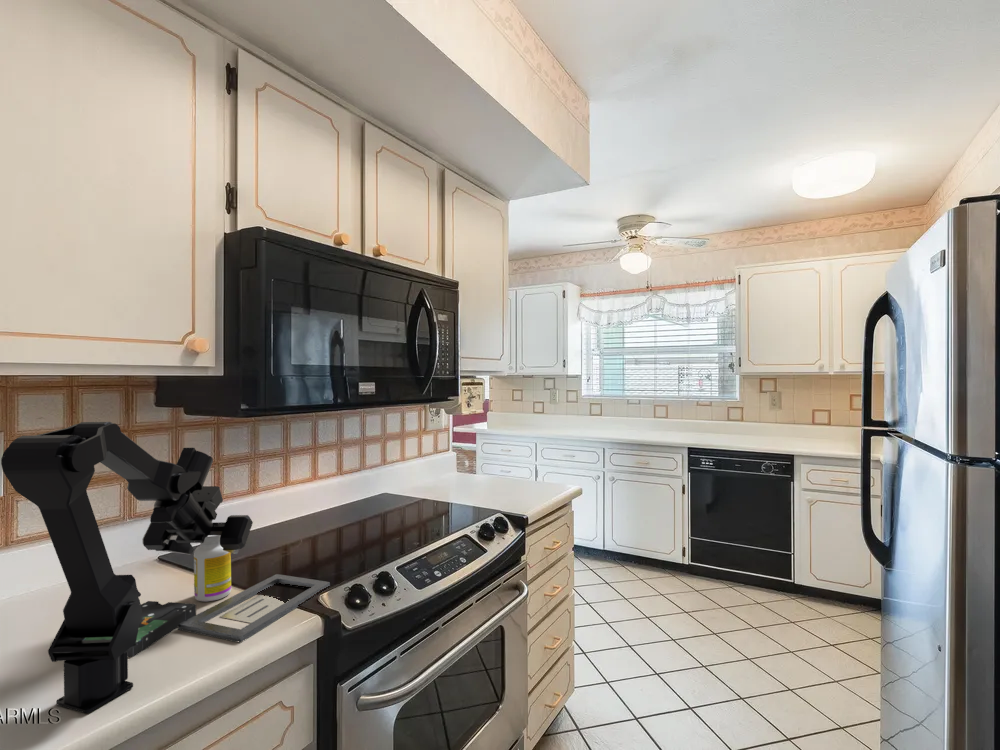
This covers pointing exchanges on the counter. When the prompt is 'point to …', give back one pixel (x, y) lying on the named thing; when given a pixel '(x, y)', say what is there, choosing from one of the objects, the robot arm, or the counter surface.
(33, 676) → the counter surface
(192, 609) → the disk drive
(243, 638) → the label panel
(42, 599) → the counter surface
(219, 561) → the supplement bottle
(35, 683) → the counter surface
